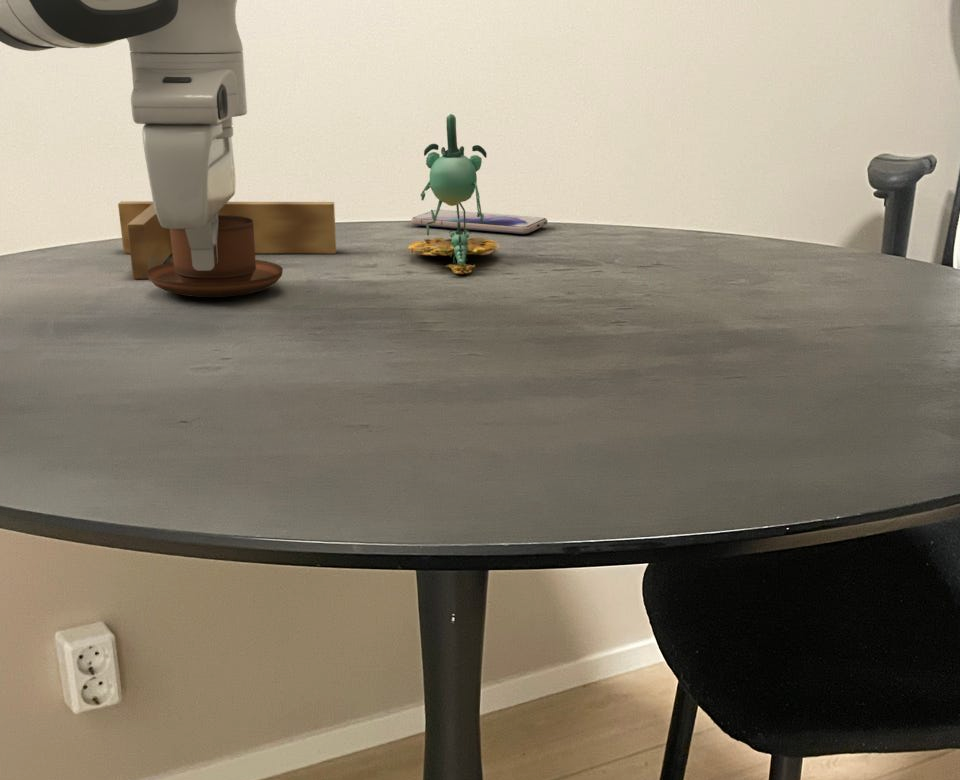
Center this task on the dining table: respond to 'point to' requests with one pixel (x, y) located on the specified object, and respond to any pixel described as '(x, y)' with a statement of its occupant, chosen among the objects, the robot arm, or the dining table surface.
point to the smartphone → (488, 224)
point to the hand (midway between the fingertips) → (205, 267)
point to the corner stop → (273, 221)
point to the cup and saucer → (228, 275)
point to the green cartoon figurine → (453, 200)
